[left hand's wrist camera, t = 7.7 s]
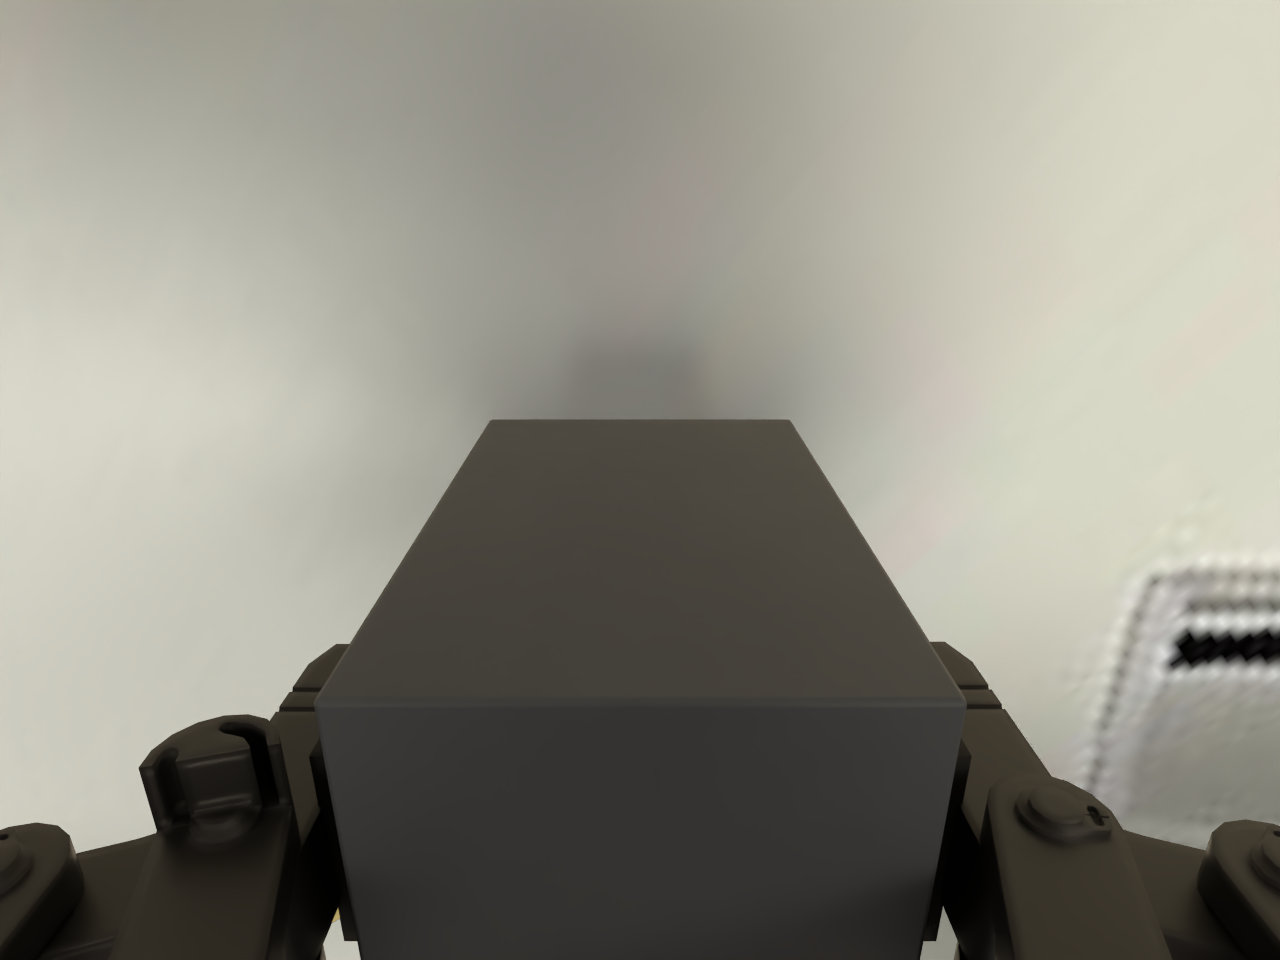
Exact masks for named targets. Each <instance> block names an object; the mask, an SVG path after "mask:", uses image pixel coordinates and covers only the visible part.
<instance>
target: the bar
mask: <svg viewBox="0 0 1280 960" xmlns="http://www.w3.org/2000/svg"><path fill="white" fill-rule="evenodd" d="M314 708H315V713H316V719H317V724H318V730H319V735H320V741H321V746H322V751H323V757H324V762H325V768H326V773H327V778H328V784H329V789H330V795H331V800H332V806H333V811H334V816H335V822H336V827H337V833H338V838H339V843H340V849H341V854H342V860H343V865H344V871H345V876H346V881H347V887H348V892H349V898H350V903H351V908H352V914H353V919H354V925H355V930H356V936H357V941H358V946H359V952H360V957H361V960H920V956H921V951H922V945H923V940H924V934H925V929H926V924H927V918H928V913H929V907H930V902H931V897H932V891H933V886H934V880H935V875H936V870H937V864H938V859H939V853H940V848H941V843H942V837H943V832H944V826H945V821H946V816H947V810H948V805H949V799H950V794H951V789H952V783H953V778H954V772H955V767H956V762H957V756H958V751H959V745H960V740H961V735H962V729H963V724H964V718H965V713H966V708H967V702H966V699H965V697H964V696H963V694H962V692H961V691H960V689H959V688H958V686H957V684H956V683H955V681H954V680H953V678H952V677H951V675H950V673H949V672H948V670H947V669H946V667H945V665H944V664H943V662H942V661H941V659H940V658H939V656H938V654H937V653H936V651H935V650H934V648H933V646H932V645H931V643H930V642H929V640H928V638H927V637H926V635H925V634H924V632H923V631H922V629H921V627H920V626H919V624H918V623H917V621H916V619H915V618H914V616H913V615H912V613H911V612H910V610H909V608H908V607H907V605H906V604H905V602H904V600H903V599H902V597H901V596H900V594H899V592H898V591H897V589H896V588H895V586H894V585H893V583H892V581H891V580H890V578H889V577H888V575H887V573H886V572H885V570H884V569H883V567H882V565H881V564H880V562H879V561H878V559H877V558H876V556H875V554H874V553H873V551H872V550H871V548H870V546H869V545H868V543H867V542H866V540H865V539H864V537H863V535H862V534H861V532H860V531H859V529H858V527H857V526H856V524H855V523H854V521H853V519H852V518H851V516H850V515H849V513H848V512H847V510H846V508H845V507H844V505H843V504H842V502H841V500H840V499H839V497H838V496H837V494H836V493H835V491H834V489H833V488H832V486H831V485H830V483H829V481H828V480H827V478H826V477H825V475H824V473H823V472H822V470H821V469H820V467H819V466H818V464H817V462H816V461H815V459H814V458H813V456H812V454H811V453H810V451H809V450H808V448H807V446H806V445H805V443H804V442H803V440H802V439H801V437H800V435H799V434H798V432H797V431H796V429H795V427H794V426H793V424H792V423H791V421H790V420H491V421H490V422H489V423H488V425H487V427H486V428H485V430H484V431H483V433H482V434H481V436H480V438H479V439H478V441H477V442H476V444H475V446H474V447H473V449H472V450H471V452H470V454H469V455H468V457H467V458H466V460H465V462H464V463H463V465H462V466H461V468H460V470H459V471H458V473H457V474H456V476H455V477H454V479H453V481H452V482H451V484H450V485H449V487H448V489H447V490H446V492H445V493H444V495H443V497H442V498H441V500H440V501H439V503H438V505H437V506H436V508H435V509H434V511H433V512H432V514H431V516H430V517H429V519H428V520H427V522H426V524H425V525H424V527H423V528H422V530H421V532H420V533H419V535H418V536H417V538H416V540H415V541H414V543H413V544H412V546H411V547H410V549H409V551H408V552H407V554H406V555H405V557H404V559H403V560H402V562H401V563H400V565H399V567H398V568H397V570H396V571H395V573H394V575H393V576H392V578H391V579H390V581H389V582H388V584H387V586H386V587H385V589H384V590H383V592H382V594H381V595H380V597H379V598H378V600H377V602H376V603H375V605H374V606H373V608H372V610H371V611H370V613H369V614H368V616H367V617H366V619H365V621H364V622H363V624H362V625H361V627H360V629H359V630H358V632H357V633H356V635H355V637H354V638H353V640H352V641H351V643H350V645H349V646H348V648H347V649H346V651H345V652H344V654H343V656H342V657H341V659H340V660H339V662H338V664H337V665H336V667H335V668H334V670H333V672H332V673H331V675H330V676H329V678H328V680H327V681H326V683H325V684H324V686H323V687H322V689H321V691H320V692H319V694H318V695H317V697H316V699H315V702H314Z"/></svg>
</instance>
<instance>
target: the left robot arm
mask: <svg viewBox="0 0 1280 960" xmlns="http://www.w3.org/2000/svg"><path fill="white" fill-rule="evenodd" d="M930 643H931V645H932V646H933V648H934V650H935V651H936V653H937V654H938V656H939V658H940V659H941V661H942V662H943V664H944V665H945V667H946V669H947V670H948V672H949V673H950V675H951V677H952V678H953V680H954V681H955V683H956V684H957V686H958V688H959V689H960V691H961V692H962V694H963V696H964V697H965V699H966V702H967V708H966V713H965V718H964V724H963V729H962V735H961V740H960V745H959V751H958V756H957V762H956V767H955V772H954V778H953V783H952V789H951V794H950V799H949V805H948V810H947V816H946V821H945V826H944V832H943V837H942V843H941V848H940V853H939V859H938V864H937V870H936V875H935V880H934V886H933V891H932V897H931V902H930V907H929V913H928V918H927V924H926V929H925V934H924V940H923V941H936V939H937V934H938V928H939V923H940V918H941V913H942V908H943V906H944V909H945V911H946V914H947V916H948V918H949V921H950V923H951V926H952V928H953V930H954V933H955V935H956V938H957V940H958V942H957V947H956V952H955V957H954V960H1280V826H1277V825H1275V824H1270V823H1264V822H1257V821H1251V820H1239V821H1232V822H1224V823H1223V824H1222V825H1221V826H1219V827H1218V828H1217V829H1216V830H1215V831H1213V832H1212V834H1211V837H1210V840H1209V843H1208V846H1207V849H1206V851H1205V850H1201V849H1196V848H1192V847H1188V846H1184V845H1179V844H1175V843H1171V842H1167V841H1162V840H1158V839H1154V838H1150V837H1146V836H1142V835H1139V834H1135V833H1132V832H1129V831H1126V830H1123V829H1122V827H1121V826H1120V824H1119V823H1118V821H1117V819H1116V818H1115V816H1114V815H1113V813H1112V812H1111V811H1110V810H1109V809H1108V808H1107V807H1106V806H1105V805H1103V804H1102V803H1101V802H1100V801H1099V800H1098V799H1096V798H1095V797H1094V796H1093V795H1092V794H1090V793H1088V792H1086V791H1084V790H1082V789H1080V788H1079V787H1077V786H1075V785H1073V784H1071V783H1069V782H1067V781H1064V780H1060V779H1057V778H1054V777H1052V776H1051V775H1050V774H1049V772H1048V771H1047V769H1046V768H1045V766H1044V765H1043V763H1042V762H1041V761H1040V759H1039V758H1038V756H1037V755H1036V753H1035V752H1034V750H1033V749H1032V748H1031V746H1030V745H1029V743H1028V742H1027V740H1026V739H1025V737H1024V736H1023V735H1022V733H1021V732H1020V730H1019V729H1018V727H1017V726H1016V724H1015V723H1014V722H1013V720H1012V719H1011V717H1010V716H1009V714H1008V713H1007V711H1006V710H1005V709H1002V704H1001V703H1000V701H999V700H998V698H997V697H996V696H995V694H994V693H993V691H992V690H989V689H988V684H987V682H986V681H985V680H984V678H983V677H982V675H981V674H980V672H979V671H978V669H977V668H976V667H975V665H974V664H973V662H972V661H970V660H969V659H968V658H966V657H965V656H964V655H962V654H961V653H959V652H958V651H957V650H955V649H954V648H952V647H951V646H950V645H948V644H947V643H946V642H930ZM349 645H350V644H336V645H334V646H333V647H332V648H330V649H329V650H328V651H326V652H325V653H323V654H322V655H321V656H319V657H318V658H317V659H315V660H314V661H312V662H311V663H310V664H309V665H308V666H307V668H306V669H305V670H304V672H303V673H302V675H301V676H300V678H299V679H298V681H297V682H296V684H295V685H294V686H293V691H292V692H289V694H288V695H287V697H286V698H285V700H284V701H283V702H282V704H281V705H280V707H279V708H280V709H279V712H276V713H275V714H274V716H273V717H272V718H271V720H270V721H269V720H268V719H265V718H261V717H257V716H252V715H228V716H221V717H217V718H214V719H210V720H206V721H202V722H198V723H196V724H194V725H192V726H190V727H188V728H185V729H183V730H181V731H179V732H177V733H175V734H173V735H171V736H170V737H169V738H167V739H166V740H165V741H163V742H162V743H161V744H159V745H158V746H157V747H155V748H154V749H153V750H151V752H150V753H149V755H148V756H147V757H146V759H145V760H144V761H143V763H142V764H141V765H140V767H139V771H140V774H141V778H142V781H143V785H144V788H145V791H146V795H147V798H148V802H149V805H150V808H151V812H152V815H153V819H154V822H155V825H156V829H157V832H156V833H155V834H152V835H149V836H146V837H142V838H139V839H136V840H131V841H127V842H123V843H119V844H115V845H110V846H106V847H102V848H98V849H93V850H89V851H85V852H81V853H77V854H76V853H75V850H74V847H73V844H72V841H71V838H70V836H69V835H68V834H67V833H66V832H65V831H63V830H62V829H61V828H60V827H59V826H57V825H49V824H42V823H31V824H25V825H19V826H12V827H8V828H5V829H2V830H0V960H326V957H325V952H324V947H323V943H324V940H325V938H326V935H327V933H328V931H329V928H330V926H331V923H332V921H333V919H334V916H335V914H336V911H337V909H338V910H339V915H340V921H341V926H342V931H343V936H344V941H357V936H356V930H355V925H354V919H353V914H352V908H351V903H350V898H349V892H348V887H347V881H346V876H345V871H344V865H343V860H342V854H341V849H340V843H339V838H338V833H337V827H336V822H335V816H334V811H333V806H332V800H331V795H330V789H329V784H328V778H327V773H326V768H325V762H324V757H323V751H322V746H321V741H320V735H319V730H318V724H317V719H316V713H315V708H314V702H315V699H316V697H317V695H318V694H319V692H320V691H321V689H322V687H323V686H324V684H325V683H326V681H327V680H328V678H329V676H330V675H331V673H332V672H333V670H334V668H335V667H336V665H337V664H338V662H339V660H340V659H341V657H342V656H343V654H344V652H345V651H346V649H347V648H348V646H349Z"/></svg>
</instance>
